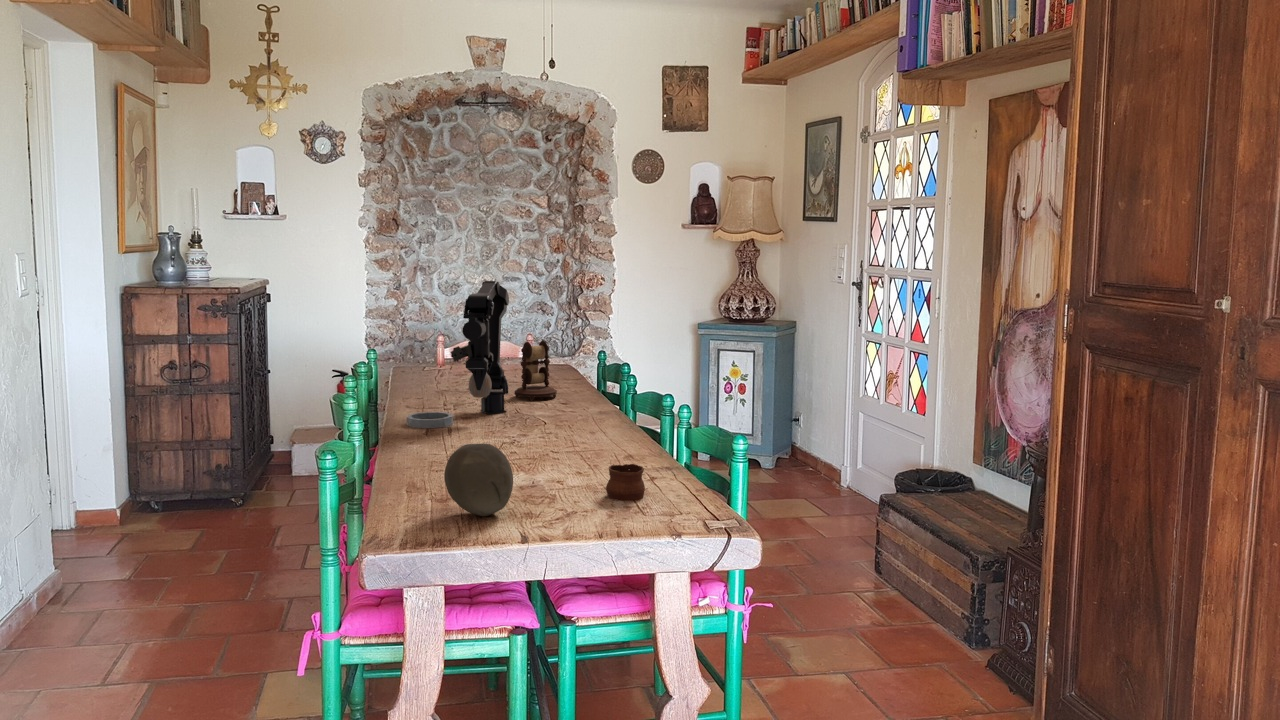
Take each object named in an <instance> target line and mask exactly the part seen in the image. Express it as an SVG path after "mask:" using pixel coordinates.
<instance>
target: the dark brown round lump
mask: <svg viewBox="0 0 1280 720" xmlns="http://www.w3.org/2000/svg"><path fill="white" fill-rule="evenodd" d="M444 468H445V469H444V473H443V475H444V476H443V478H444V485H445V487H446V490H447V493H448V494H449V497H450V498H451V499H452V500H453V501H454V502H455V503H456V504H457V505H458V507H459V508H461V509H462V510H463V511H466V512H468V513H471V514H473V515H476V516H479V517H488V516H489V517H490V516H492V515H494V514H496V513H498V512H499V511H501V510H503V509H504V508H505V507H506V506H507V504H508V502H509V500H510V498H511V495H512V492H513V487H514V474H513V469H512V466H511V463H510V461H509V459H508V458H507V456H506V455H505V454H504V453H503V452H502V451H501V450H500V449H499V448H498V447H496V446H494V445H493V444H490V443H468V444H464V445H462V446H460V447H459V448H457V449H456V450H455V451H454V452H453V453H452V454H451V455H450V456H449V458H448V459H447V463H446V465H445V467H444Z"/></svg>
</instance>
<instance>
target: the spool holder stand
mask: <svg viewBox="0 0 1280 720" xmlns="http://www.w3.org/2000/svg"><path fill="white" fill-rule="evenodd" d="M520 350H521V361H520V367H521V368H522V370H521V376H520V377H521V379H522V380H521V382H522V384H521V386H520V387H517V388H516V389H515V390H514V395H515V398H518V397H521V398H522V397H524V398H529V399H530V401H531V402H533V401H534V398H545V397H546V398H547V397H552V398H553V399H556V397H557V394H558V393H557V389H555V388H554V387H551V386H549V385H550V381H549V377H550V372H549V371H550V369H549V365H550V364H551V360H550V359H549V358H550V356H549V351H550V346H549V345H548V342H546V341H545V340H541V341H540V342H539V345H532V344H531V343H530V342H529V341H526V342H524V343H523V344H522V348H521V349H520ZM539 365H544V366H540V368H539ZM543 383H544V385H540V384H543ZM537 384H539V385H537Z"/></svg>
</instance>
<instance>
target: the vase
mask: <svg viewBox="0 0 1280 720" xmlns="http://www.w3.org/2000/svg"><path fill="white" fill-rule="evenodd" d="M491 388H492V382H491V379H490V377H489V375H488V374H487V373H486V376H485V379H484V382H483V385H482V388H481V390H477V389H476V385H475V381H474V377H473V374H472V373H471V376H470V377H469V379H468V390H469V394H470V395H472V397H474V398H479V399H480V398H483V397H487V396H488V395H489V394H490V392H491Z"/></svg>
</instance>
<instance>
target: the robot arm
mask: <svg viewBox="0 0 1280 720" xmlns="http://www.w3.org/2000/svg"><path fill="white" fill-rule="evenodd" d="M509 303H510V295H509V293H508V290H507V288H505V287H503V286H502V285H500V282H499V281H497V280H484V281H482V283H481V287H480V288H479V289H478V291H477V292H476V293H471V294H469V295H468V296H467V298H466V299H465V303H464V310H463V316H462V319H466V320H467V319H468V321H467V322H466V323H464V324H463V326H462V330H461V331H462V335H463V336H464V338H465V339H467V340H468V342H467V345H464V346H459V345H458V346H456V347H453V348H452V349H453V350H451V351H450V355H451V358H452V360H453V362H454V363H455V362H458V361H459V360H461V359H465V358H468V359H467V360H466V361H465V369H467V371H469V372H470V373H471V375H472V374H473V377H474V381H475V385H476V389H477V390H481V388H482V385H483V382H484V379H485V376H486V373H487V374H488V375H489V377H490V379H491V382H492V388H491V392H490V394H489V395H488V396H487V397H483V398H481V399H480V400H481V401H480V407H481V408H480V412H482V413H485V414H488V415H493V414H494V415H495V414H503V413H504V414H505V413H507V410H505V395H508V394H509V383H508V379H507V378H506V375H505V370H504V369H503V367H502V365H501V363H500V361H501V357H500V356H501V335H502V334H501V333H502V319H503V318H504V316H505V314H506V313H507V309H508V306H509Z"/></svg>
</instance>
